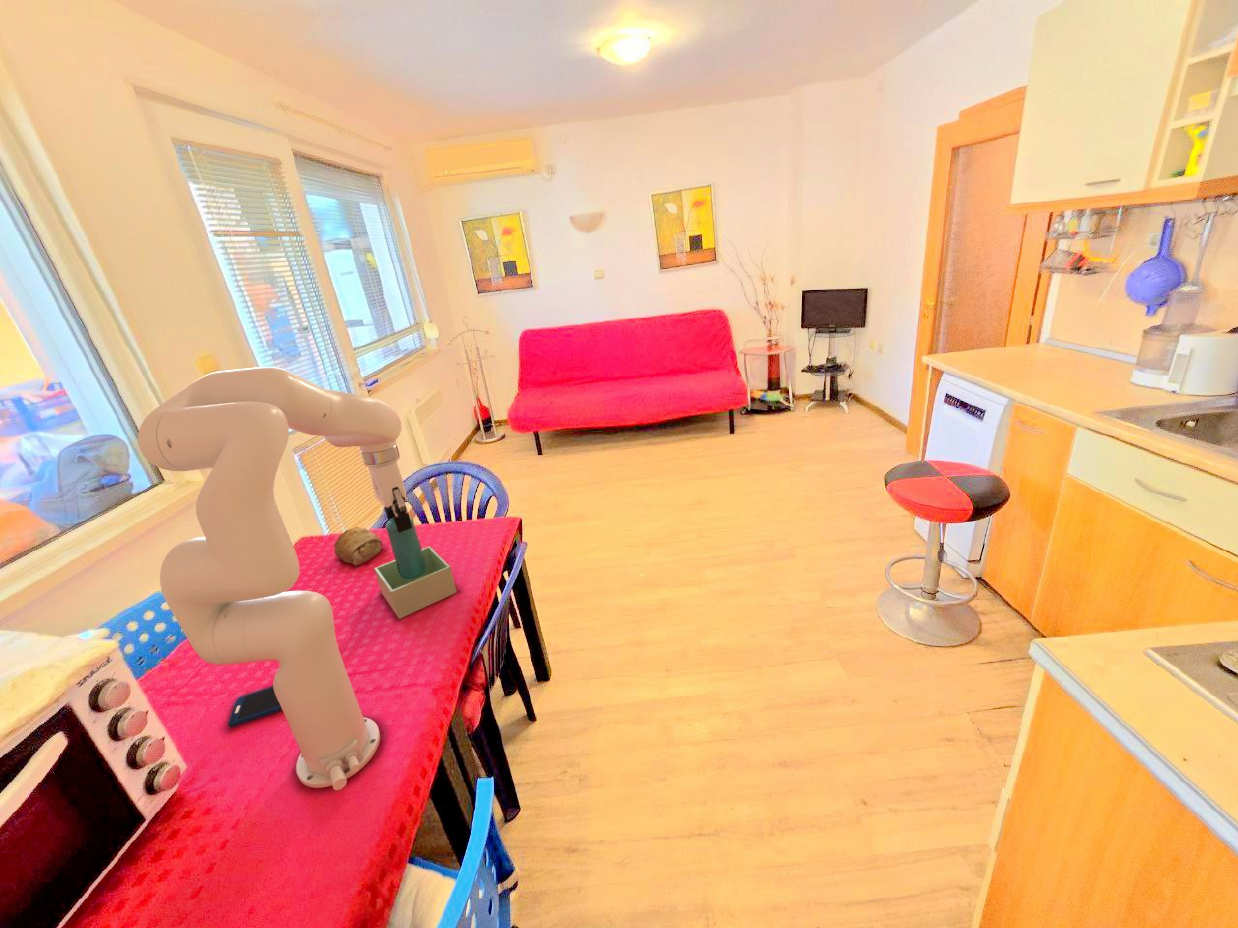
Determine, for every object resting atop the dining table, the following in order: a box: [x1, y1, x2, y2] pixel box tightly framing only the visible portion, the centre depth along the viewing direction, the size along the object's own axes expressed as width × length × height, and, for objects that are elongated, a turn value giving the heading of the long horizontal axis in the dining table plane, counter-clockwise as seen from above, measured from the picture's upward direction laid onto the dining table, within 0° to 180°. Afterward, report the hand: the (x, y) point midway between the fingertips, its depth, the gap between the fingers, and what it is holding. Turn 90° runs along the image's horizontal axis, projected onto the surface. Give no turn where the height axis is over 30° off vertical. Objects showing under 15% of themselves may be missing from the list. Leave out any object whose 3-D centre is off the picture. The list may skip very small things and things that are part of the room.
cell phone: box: [227, 685, 283, 728], centre depth 97 cm, size 7×14×1 cm, turn 114°
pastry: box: [333, 526, 383, 567], centre depth 147 cm, size 14×12×8 cm
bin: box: [374, 546, 457, 620], centre depth 126 cm, size 14×14×8 cm
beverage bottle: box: [384, 506, 426, 579], centre depth 122 cm, size 6×7×20 cm
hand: (400, 524), depth 120 cm, fingers closed on beverage bottle, 6 cm apart
